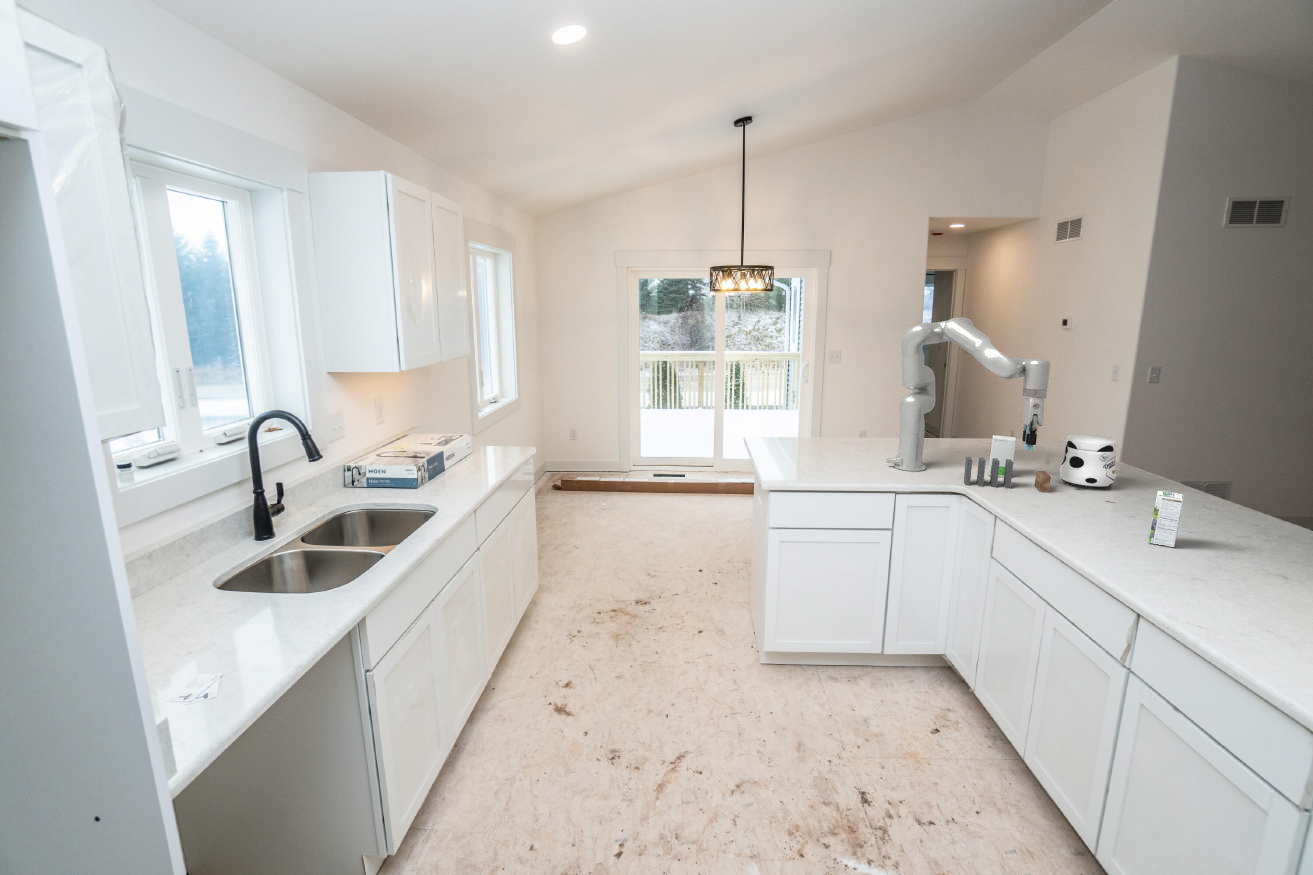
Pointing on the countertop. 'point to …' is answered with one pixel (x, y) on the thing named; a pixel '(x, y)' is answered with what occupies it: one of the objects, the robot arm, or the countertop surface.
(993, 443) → the skincare box
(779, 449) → the countertop surface
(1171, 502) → the syrup box
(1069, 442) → the spotted treat jar
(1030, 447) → the domino
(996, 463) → the tile
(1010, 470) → the tile
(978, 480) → the tile
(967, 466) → the tile
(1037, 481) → the bookend
